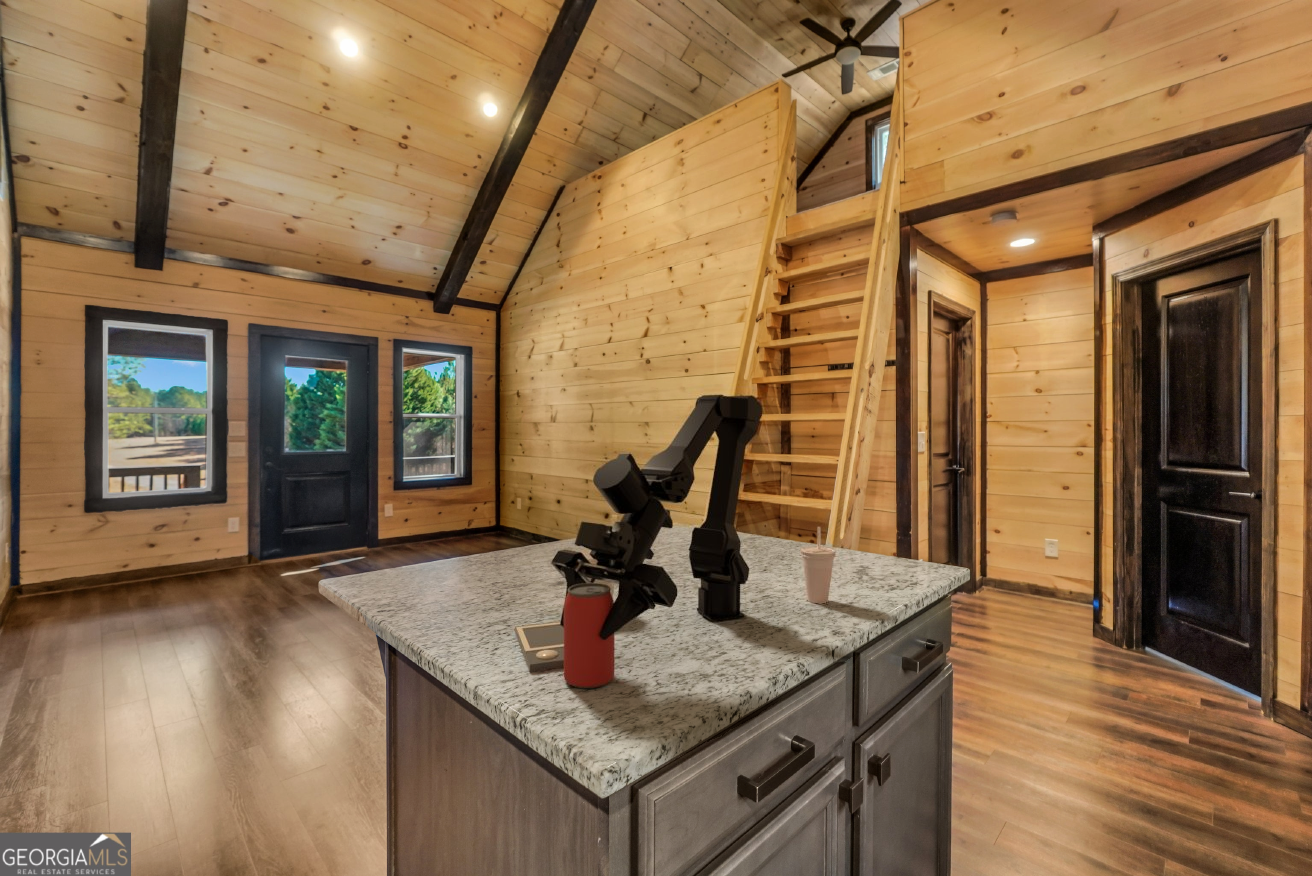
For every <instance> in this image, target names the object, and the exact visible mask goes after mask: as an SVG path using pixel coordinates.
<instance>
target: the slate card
mask: <svg viewBox="0 0 1312 876" xmlns="http://www.w3.org/2000/svg"><path fill="white" fill-rule="evenodd" d="M560 622H561V620H559V621H553V622H552V621H551V622H545V623H534V624H527V625H526V624H525V625H518V626H514V633H515V636H516V639H517V642H518V644H519V648H520V649H521V653H522V655H523V658H524V660H525V664H526V665H527V666H526V667H527V669H528V672H529V673H532V672H538V671H539V672H540V671H546V670H552V669H553V670H555V669H559V668H561V669H562V668H564V628H563V627H562V626H561V625H560Z"/></svg>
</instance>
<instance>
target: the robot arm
mask: <svg viewBox="0 0 1312 876" xmlns="http://www.w3.org/2000/svg"><path fill="white" fill-rule="evenodd" d="M762 416H763V405H762V403H761V402H760V401H758V400H757V398H756V396H755V395H750V394H749V395H723V394H704V395H703V394H702V395H701V396H698V398H696V401H695V406H694V408H693V409H692V411H691V413H690V414H689V415H688V417H687V418H686V420H685V421H684V423H683V425H682V426H681V428H680V429H679V431H678V432H677V434H676V435H675V436H674V438H673V439H672V441H671V443H669V446H668V447H666V448H665V449H664V450H662V451H661V452H659V453H657V454H656V455H653V456H652V457H651V458H650V459H649V460H648V461H647V462H646V463H645V464H644V465H643V466H642V467H641V469H640V466H638V463H637V461H636V460H635V458H634V456H633V454H632V453H628V452H627V453H625V452H620V453H618V455H617V457H616V458H613V459H610V460H609V461H607V462H605V463H604V464H603V465H602V466H601V467H598V468H597V469H596V471H595V472H594V475H593V479H592V480H593V484H594V486H595V487H596V489H597V491H598V492H599V493H600V494H601V495H602V497H603V498H604V500H605V501H606V502H607V503H608V505H609V506H610V507H611V509H612V511H613V512H615V513H617V514H619V515H622V517H621V519H620V521H615V522H614V523H613V525H606V524H603V523H597V522H591V521H590V522H589V521H581V522H580V525H579V528H578V532H577V534H576V539H575V542H574V545H575V546H577V547H583V548H585V549H587V550H591V552H590V556H591V557H592V558H593V559H596V560H597V563H596V564H597V565H595V564H591V563H590V562H589V561H588V560H587V558H586V557H585V556H584V555H583V554H582V553H581V552H577V551H576V550H572V549H571V550H569V549H560V550H557V552H556V554H555V555H554V557H553V558H552V560H551V561H550V564H551V565H552V567H554V568H555V569H556V571H557V572H558V573H559V574H560V575H561V576H562V577H563V578H564V579H565V583H566V591H565V596H564V600H565V599H566V596H567V594H568V589H569V587H571V586H573V585H576V584H582V583H594V581H595V579H597V580H602V581H607V582H611V583H614V584H617V585H618V591H617V592H618V593H617V597H616V599H615V601H614V604H613V606H612V608H611V610H610V612H609V614H608V616H607V618H606V620H605V622H604V624H603V627H602V629H601V632H600V634H599V636H600V637H601V638H602V639H603V640H606V639H607V638H609V637H610V636H611V635H612V634H614V635H615V633H616V632H618V631H619V630H620V629H621V628H623V627H625V625H627V624H628V623H629V622H631V621H632V620H635V619H636V618H637V617H638V616H640V615H642V614H643V613H645V612H647V611H648V610H654V609H655V608H656V606H663V607H667V608H672V607H673V605H674V604H675V601H676V599H677V596H678V587H677V585H676V583H675V582H674V580H672V577H671V576H670V575H669V574H668V572H667V571H666V570H665V568H664V567H663V566H659V565H653V564H648V563H644V562H645V560H650V561H651V560H652V559H653V557H654V555H655V553H654V552H653V550H652V546H653V545H654V542H655V541H656V539H657V537H658V536H659V534H660V532H661V529H662V528H664V529H665V528H666V529H673V527H674V524H673V518H672V517H671V510H670V509H666V508H665V506H664V505H663V503H672V504H680V503H683V502H684V501H685V500H686V498H687V497H688V495H689V493H690V490H691V488H692V486H693V485H694V481H695V479H696V478H695V473H694V472H695V471H694V467H695V465H696V462H698V459H699V457H700V456H701V455H702V453H703V451H704V449H705V448H706V446H707V444H708V443H709V441H710V439H712V436H713V435H714V433H715V434H716V437H717V439H718V444H717V449H716V450H717V451H716V458H715V463H714V468H713V473H712V475H713V476H712V482H711V486H710V487H711V488H710V494H709V499H708V506H707V510H706V511H707V513H706V518H705V520H704V522H703V523H702V524H701V525H700V527H693V529H692V532H691V540H690V541H691V542H690V544H689V547H688V551H689V553H688V559H689V562H690V568H691V572H692V577H693V579H700V587H698V589H697V590H698V591H697V597H698V598H697V599H698V602H697V603H698V604H697V607H696V611H697V612H698V613H699V614H700V615H702V616H704V617H705V618H707V619H708V620H709V621H710V622H716V621H725V620H733V619H741V618H745V617H746V614H745V613H744V612H742V611H741V585H745V584H746V583H747V581H749V580H748V579H749V575H750V567H749V565H748V563H747V562H746V560H745V558H744V557H743V556H742V554H741V543H742V542H741V540H740V537H739V535H738V532H737V529H736V527H735V519H736V513H737V507H738V502H739V501H738V500H739V494H740V489H741V488H740V487H741V482H742V481H741V480H742V475H743V466H744V461H745V453H746V448H747V445H748V444H749V443H750V442H751V440H752V439H753V438H754V437H755V435H756V434H757V432H758V429H759V425H760V421H761V419H762ZM560 621H561V622H560ZM560 621H559V622H560V625H561V626H562V627H563V628H564V606H563V607H562V613H561V618H560Z"/></svg>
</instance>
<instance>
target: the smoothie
mask: <svg viewBox="0 0 1312 876" xmlns="http://www.w3.org/2000/svg"><path fill="white" fill-rule="evenodd" d="M821 533H822V531H821V526H817V543H816V544H817V546H807V547H802V548H801V550H800V556H801V557H802V563H803V571H804V579H805V587H806V589H805V590H806V596H807V601H808V602H809V601H810V602H809V603H811V602H812V603H811V604H815V603H818V604H817V605H823V604H822V603H825V604H827V603H828V602H829V595H830V588H831V581H832V574H833V566H834V558H836V557H837V556H836V551H835V550H834V549H833V548H828V547H822V545H821V538H822V536H821ZM826 602H827V603H826Z"/></svg>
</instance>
